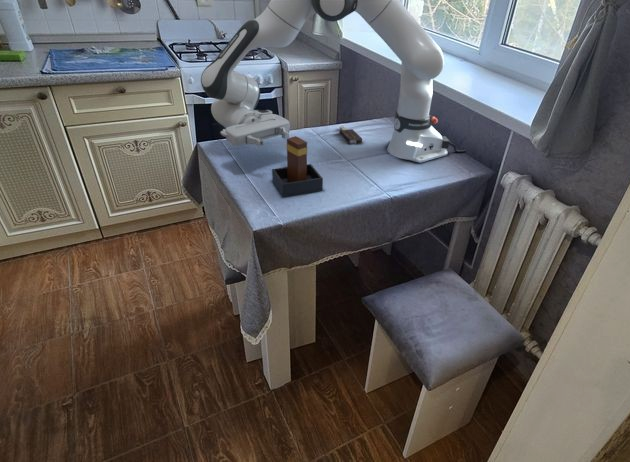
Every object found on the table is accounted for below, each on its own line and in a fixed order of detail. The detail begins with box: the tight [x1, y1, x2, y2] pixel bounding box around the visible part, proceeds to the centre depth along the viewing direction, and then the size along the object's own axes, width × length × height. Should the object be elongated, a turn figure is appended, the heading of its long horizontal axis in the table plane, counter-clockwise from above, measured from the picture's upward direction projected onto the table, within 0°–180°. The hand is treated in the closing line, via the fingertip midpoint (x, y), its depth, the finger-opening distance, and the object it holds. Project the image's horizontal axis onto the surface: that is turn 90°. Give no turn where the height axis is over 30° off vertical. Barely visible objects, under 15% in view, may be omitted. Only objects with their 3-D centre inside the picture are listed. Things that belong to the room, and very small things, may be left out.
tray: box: [271, 163, 324, 198], centre depth 128 cm, size 12×10×4 cm
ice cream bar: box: [339, 125, 363, 145], centre depth 163 cm, size 5×2×15 cm
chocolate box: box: [286, 135, 308, 183], centre depth 124 cm, size 3×5×14 cm, turn 47°
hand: (274, 139), depth 128 cm, fingers open, 8 cm apart
